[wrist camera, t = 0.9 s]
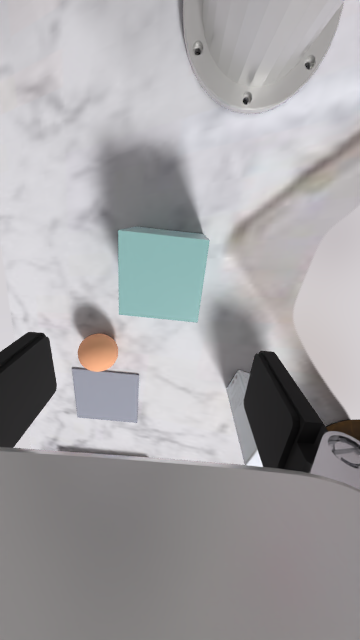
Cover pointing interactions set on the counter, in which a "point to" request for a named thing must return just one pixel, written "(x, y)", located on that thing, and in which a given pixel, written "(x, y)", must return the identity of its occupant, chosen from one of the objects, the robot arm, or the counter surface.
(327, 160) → the counter surface
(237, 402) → the skincare box
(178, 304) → the mint green block
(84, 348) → the ball
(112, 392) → the grey square plate
